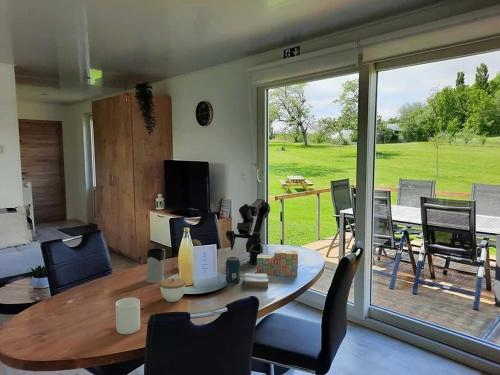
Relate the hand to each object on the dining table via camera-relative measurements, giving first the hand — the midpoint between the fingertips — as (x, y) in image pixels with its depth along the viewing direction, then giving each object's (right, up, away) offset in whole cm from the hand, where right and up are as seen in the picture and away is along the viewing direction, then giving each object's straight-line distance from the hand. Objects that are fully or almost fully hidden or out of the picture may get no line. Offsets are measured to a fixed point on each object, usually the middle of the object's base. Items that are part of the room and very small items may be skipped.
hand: (239, 250), depth 189 cm
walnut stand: (+8, -15, -8) cm, 19 cm away
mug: (-40, -19, -53) cm, 69 cm away
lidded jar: (-28, -17, -27) cm, 43 cm away
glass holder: (-41, -14, -1) cm, 44 cm away
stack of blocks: (+19, -14, +7) cm, 25 cm away
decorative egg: (-26, -12, +19) cm, 34 cm away
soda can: (-3, -15, -6) cm, 16 cm away
